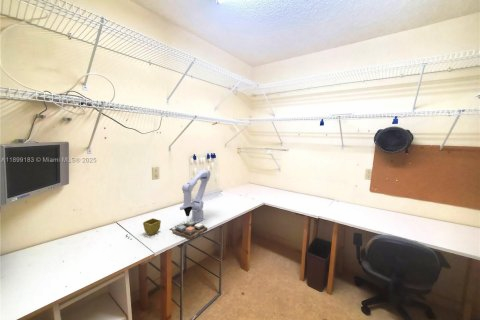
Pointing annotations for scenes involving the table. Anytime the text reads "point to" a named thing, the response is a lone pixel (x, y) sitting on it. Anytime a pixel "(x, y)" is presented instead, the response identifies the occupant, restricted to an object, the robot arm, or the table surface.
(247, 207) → the table surface
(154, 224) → the flower pot
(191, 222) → the key sage
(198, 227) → the key cream
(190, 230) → the key terracotta
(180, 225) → the card
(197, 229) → the keypad
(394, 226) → the table surface
